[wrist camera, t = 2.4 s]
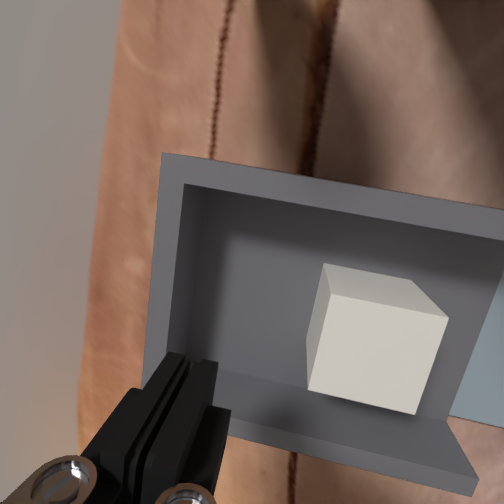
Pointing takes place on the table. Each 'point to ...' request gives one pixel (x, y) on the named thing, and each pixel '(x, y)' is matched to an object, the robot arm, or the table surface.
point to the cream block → (372, 338)
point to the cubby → (302, 302)
